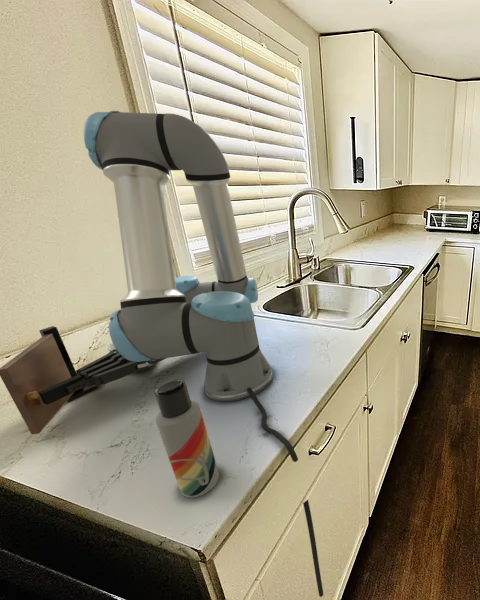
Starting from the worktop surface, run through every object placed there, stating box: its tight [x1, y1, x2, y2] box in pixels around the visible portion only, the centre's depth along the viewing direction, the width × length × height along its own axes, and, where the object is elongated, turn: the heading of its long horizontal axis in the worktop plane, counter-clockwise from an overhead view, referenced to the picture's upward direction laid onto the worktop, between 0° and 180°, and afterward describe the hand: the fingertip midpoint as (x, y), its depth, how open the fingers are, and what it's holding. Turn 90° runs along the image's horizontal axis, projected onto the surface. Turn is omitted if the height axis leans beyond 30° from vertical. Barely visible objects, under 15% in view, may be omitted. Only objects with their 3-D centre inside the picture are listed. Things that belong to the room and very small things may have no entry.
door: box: [0, 334, 73, 435], centre depth 68 cm, size 15×2×15 cm, turn 22°
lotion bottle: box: [154, 379, 220, 499], centre depth 51 cm, size 6×6×20 cm
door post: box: [38, 325, 99, 403], centre depth 76 cm, size 5×6×17 cm
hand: (42, 398), depth 66 cm, fingers closed
